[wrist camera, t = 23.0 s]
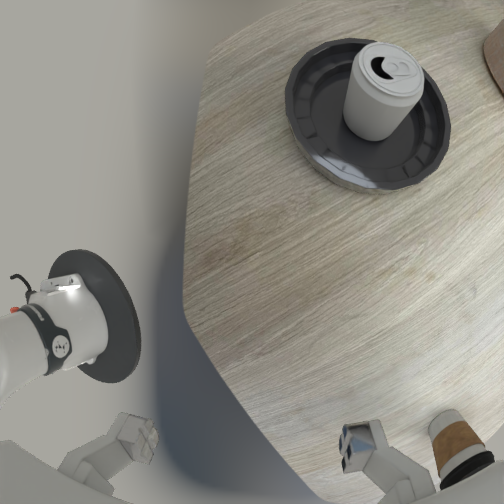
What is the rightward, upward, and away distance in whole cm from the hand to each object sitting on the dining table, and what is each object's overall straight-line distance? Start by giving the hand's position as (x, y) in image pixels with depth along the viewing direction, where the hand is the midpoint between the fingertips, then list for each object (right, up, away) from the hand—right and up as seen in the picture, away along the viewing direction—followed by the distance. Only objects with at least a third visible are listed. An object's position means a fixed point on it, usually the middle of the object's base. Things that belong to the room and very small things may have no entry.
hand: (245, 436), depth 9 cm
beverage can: (+14, +23, +18) cm, 32 cm away
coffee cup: (+31, -20, +19) cm, 42 cm away
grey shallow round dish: (+14, +23, +18) cm, 33 cm away
